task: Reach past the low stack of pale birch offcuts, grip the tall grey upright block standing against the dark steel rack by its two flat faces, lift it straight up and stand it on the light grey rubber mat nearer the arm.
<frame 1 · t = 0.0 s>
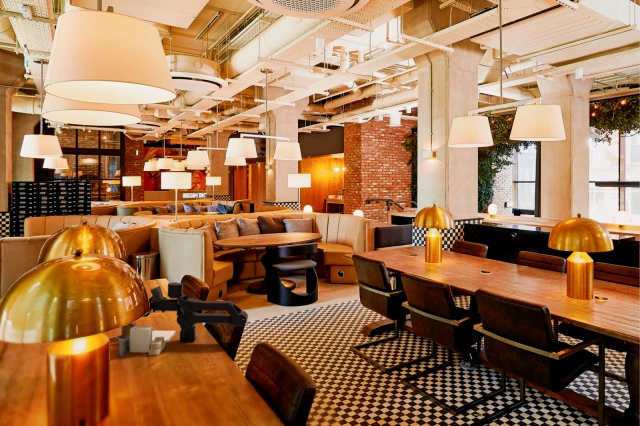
hand: (133, 304, 194), 17 cm above the table, tool horizontal, fingers open, 9 cm apart
mat: (156, 337, 199), on the table
grey upright block: (141, 350, 182), on the table
rack: (128, 350, 182), on the table
condiment: (126, 337, 198), on the table
offcut stack: (157, 351, 182), on the table
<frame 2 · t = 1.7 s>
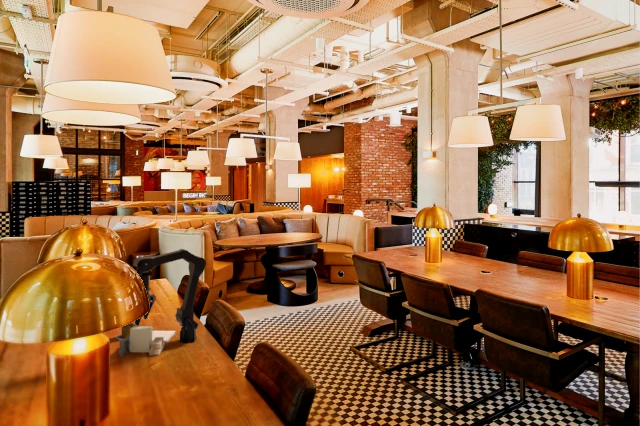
hand: (141, 322, 182), 12 cm above the table, tool pointing down, fingers open, 9 cm apart
nothing on the table moved.
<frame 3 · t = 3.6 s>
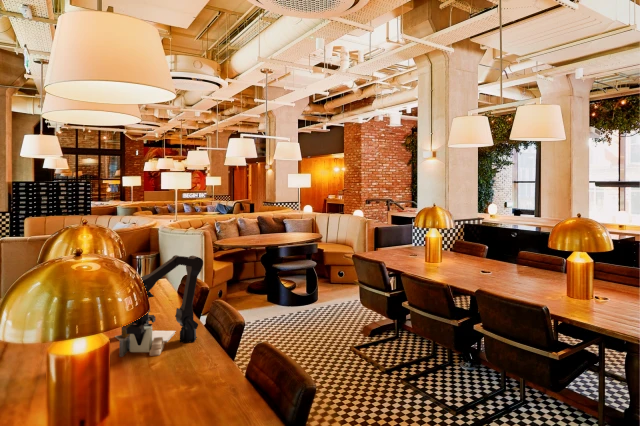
hand: (141, 343, 182), 3 cm above the table, tool pointing down, fingers closed on grey upright block, 4 cm apart
grey upright block: (141, 350, 182), on the table, touching gripper
everything else where it was.
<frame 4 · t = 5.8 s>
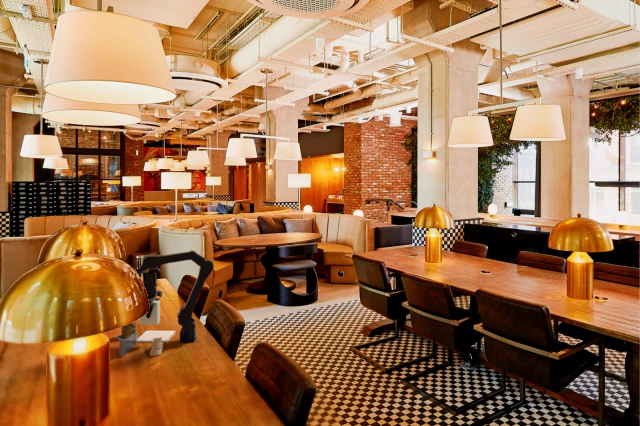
hand: (149, 316, 190), 12 cm above the table, tool pointing down, fingers closed on grey upright block, 4 cm apart
grey upright block: (149, 323, 190), point 9 cm above the table, touching gripper
everything else where it was.
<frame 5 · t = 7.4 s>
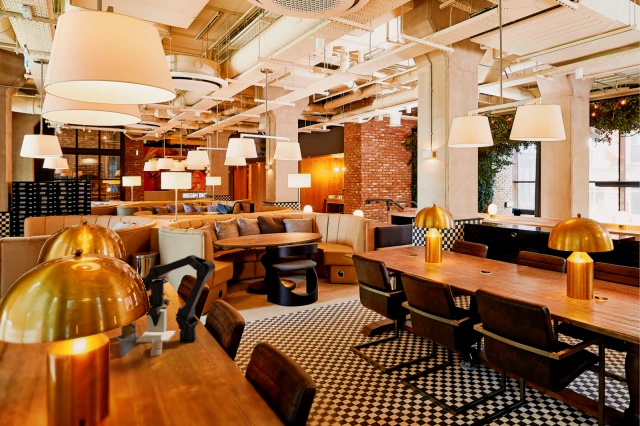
hand: (156, 324, 199), 6 cm above the table, tool pointing down, fingers closed on grey upright block, 4 cm apart
grey upright block: (156, 330, 199), point 3 cm above the table, touching gripper
everything else where it was.
when the fingers open (5 cm above the table, at t = 8.3 s): grey upright block drops 1 cm, resting on mat.
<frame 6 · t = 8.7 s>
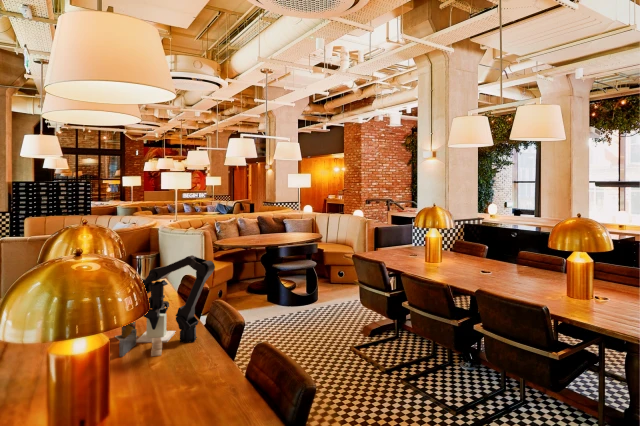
hand: (156, 326, 199), 5 cm above the table, tool pointing down, fingers open, 8 cm apart
grey upright block: (156, 335, 199), point 1 cm above the table, touching mat
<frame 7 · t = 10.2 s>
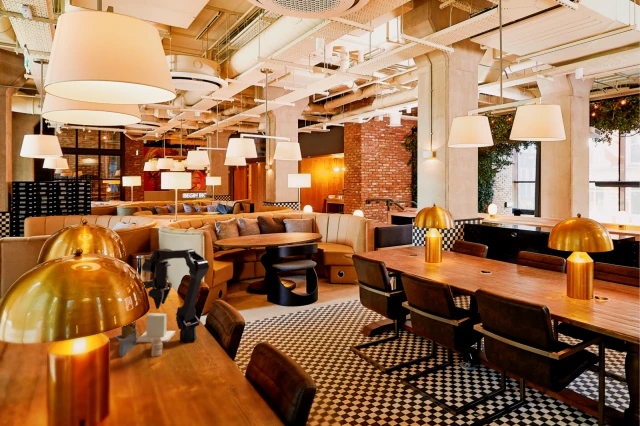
hand: (160, 306, 204), 13 cm above the table, tool pointing down, fingers open, 9 cm apart
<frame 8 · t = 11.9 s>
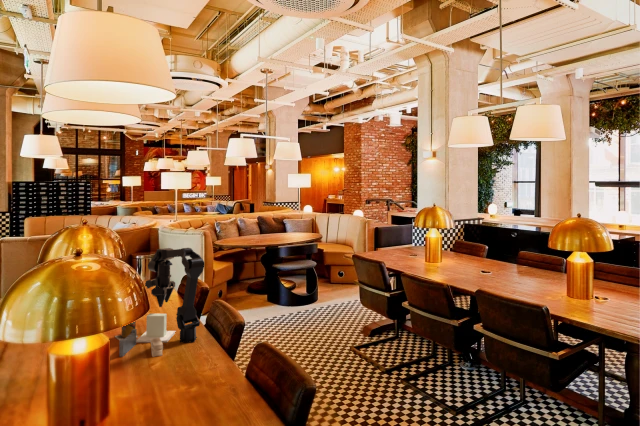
hand: (163, 304, 208), 13 cm above the table, tool pointing down, fingers open, 9 cm apart
at the end: grey upright block inside the target area on the mat (0.0 cm from its centre), point 0.8 cm above the mat's base; grey upright block tilted 0°; the gripper is holding nothing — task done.
